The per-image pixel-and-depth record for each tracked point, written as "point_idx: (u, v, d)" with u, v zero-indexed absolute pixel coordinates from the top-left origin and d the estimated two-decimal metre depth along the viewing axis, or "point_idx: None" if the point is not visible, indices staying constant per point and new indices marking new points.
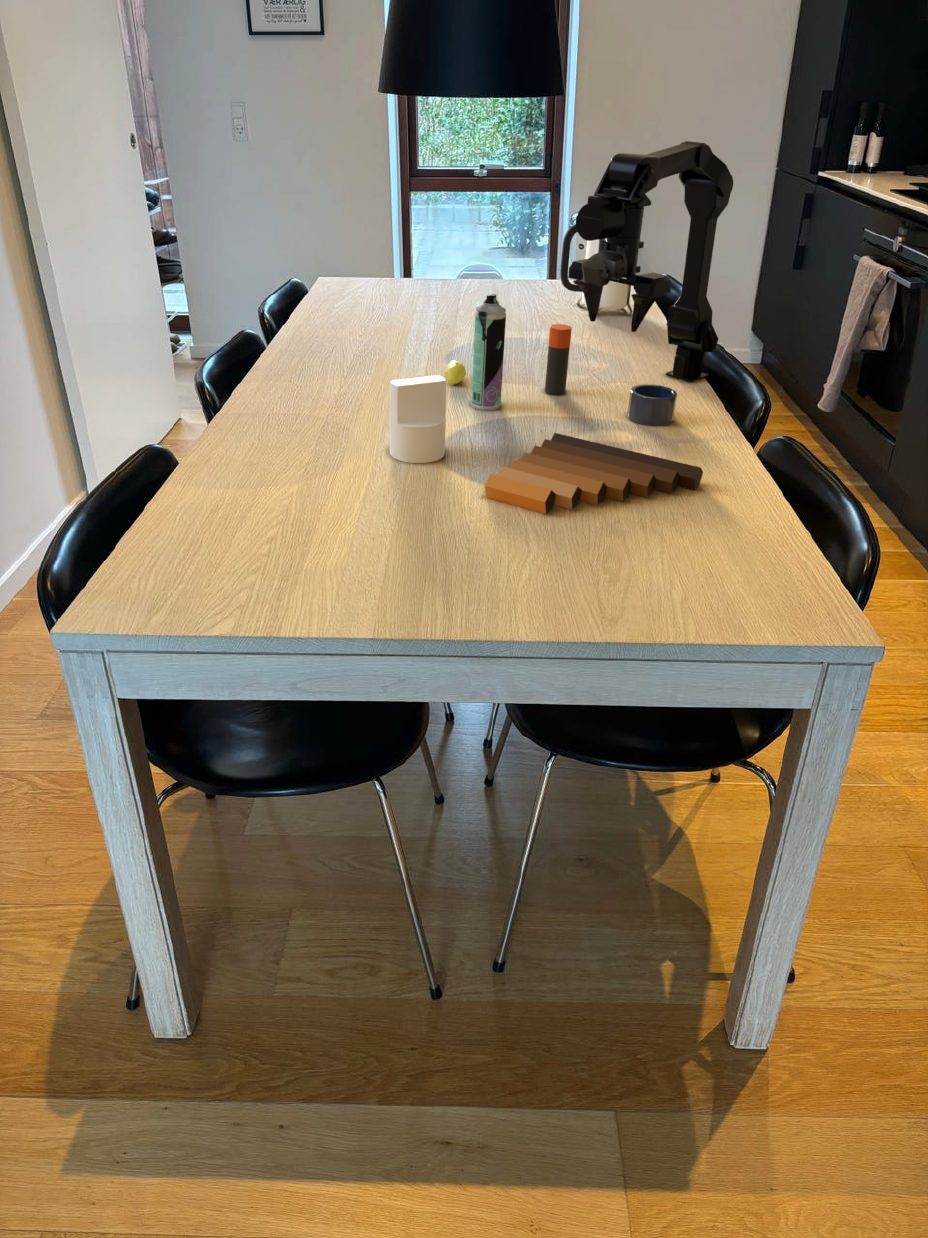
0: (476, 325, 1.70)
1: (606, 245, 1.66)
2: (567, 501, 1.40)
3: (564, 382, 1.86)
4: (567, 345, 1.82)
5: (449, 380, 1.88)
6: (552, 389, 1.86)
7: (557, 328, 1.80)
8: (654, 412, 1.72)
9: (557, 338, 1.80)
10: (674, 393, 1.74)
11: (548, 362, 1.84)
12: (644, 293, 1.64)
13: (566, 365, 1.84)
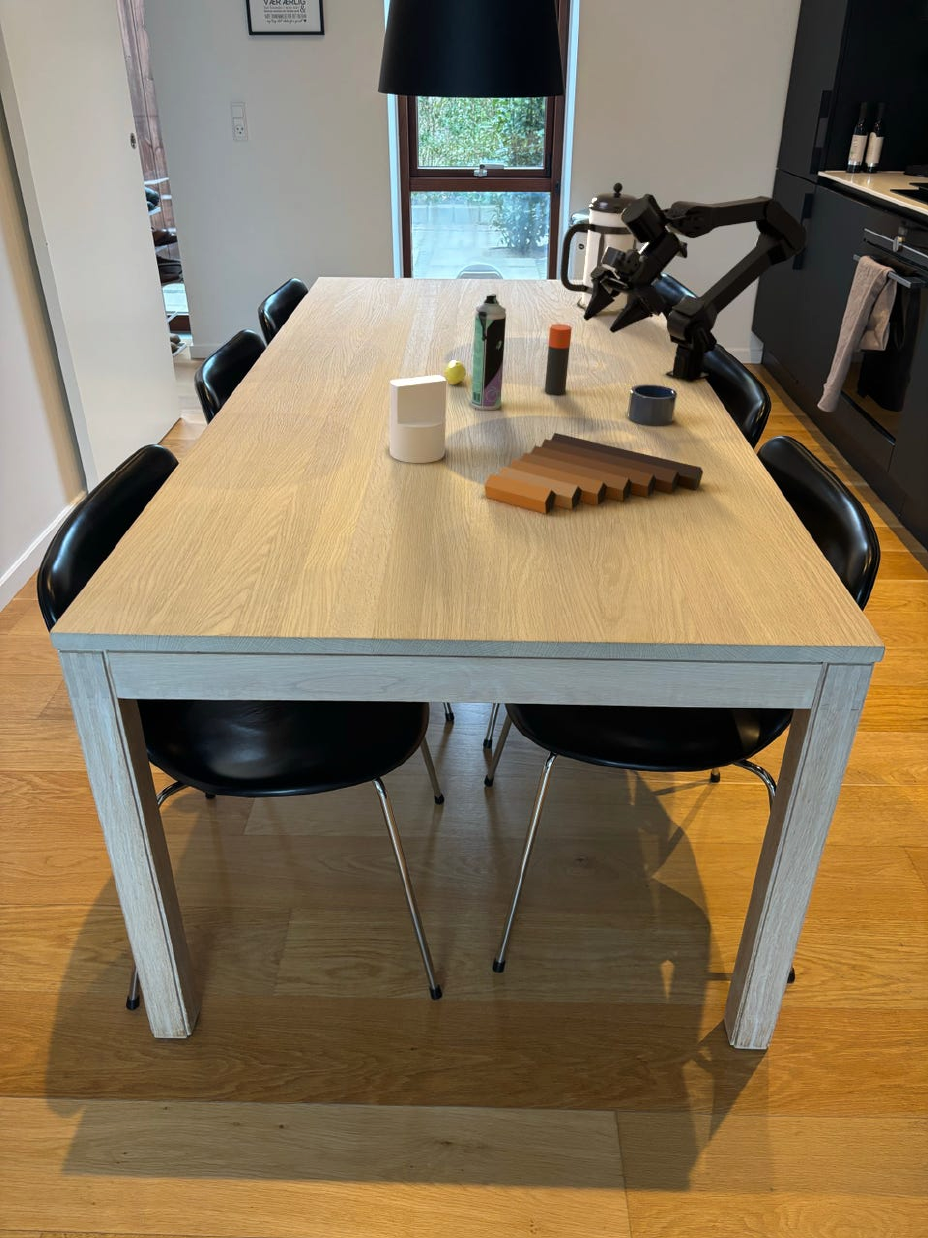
0: (476, 325, 1.70)
1: None
2: (567, 501, 1.40)
3: (564, 382, 1.86)
4: (567, 345, 1.82)
5: (449, 380, 1.88)
6: (552, 389, 1.86)
7: (557, 328, 1.80)
8: (654, 412, 1.72)
9: (557, 338, 1.80)
10: (674, 393, 1.74)
11: (548, 362, 1.84)
12: (639, 291, 1.76)
13: (566, 365, 1.84)
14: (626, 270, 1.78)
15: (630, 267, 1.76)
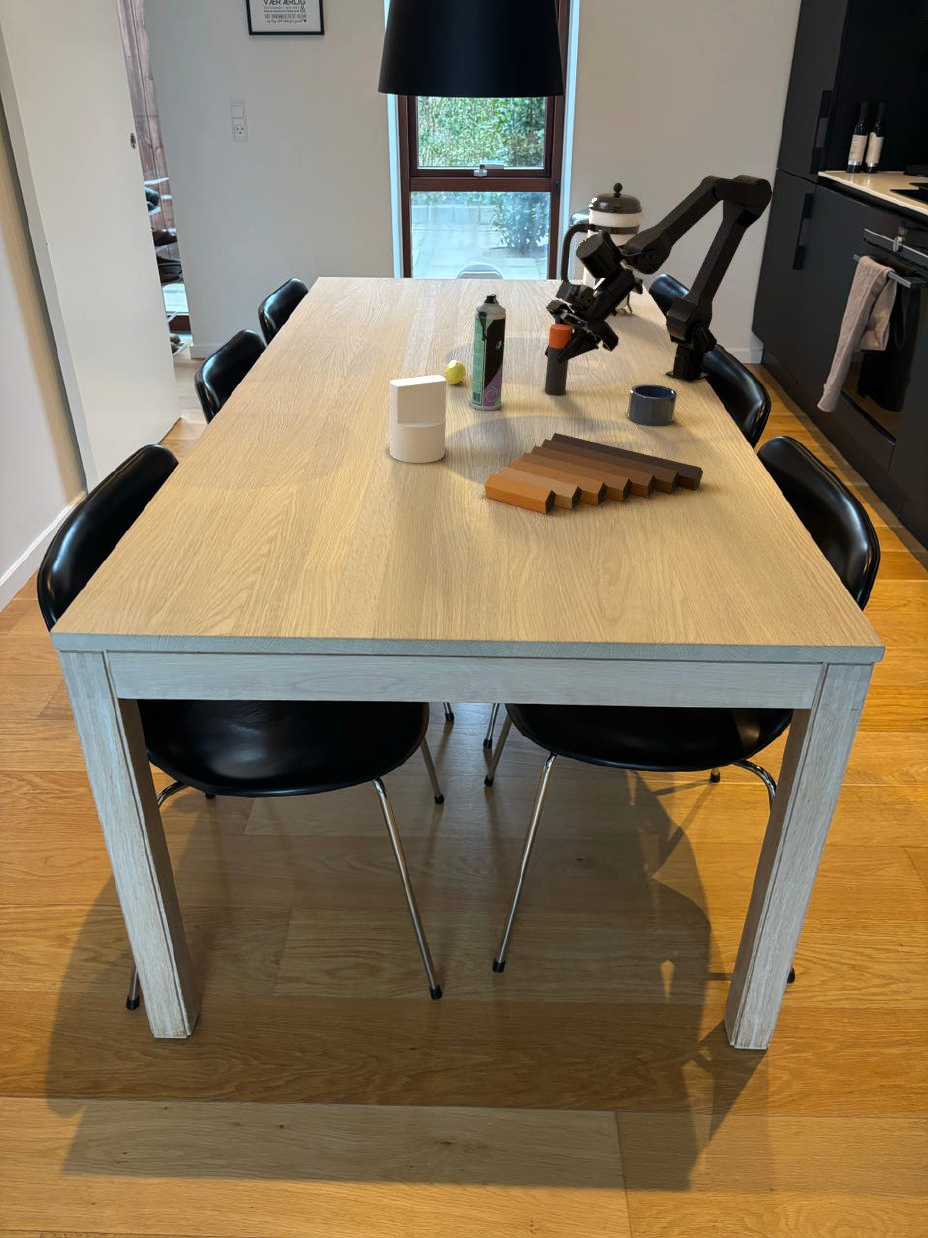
0: (476, 325, 1.70)
1: None
2: (567, 500, 1.40)
3: (564, 382, 1.86)
4: None
5: (449, 380, 1.88)
6: (552, 389, 1.86)
7: (557, 328, 1.80)
8: (654, 412, 1.72)
9: (558, 338, 1.80)
10: (674, 393, 1.74)
11: (548, 362, 1.84)
12: (592, 327, 1.75)
13: (566, 365, 1.84)
14: (580, 305, 1.78)
15: (583, 302, 1.76)
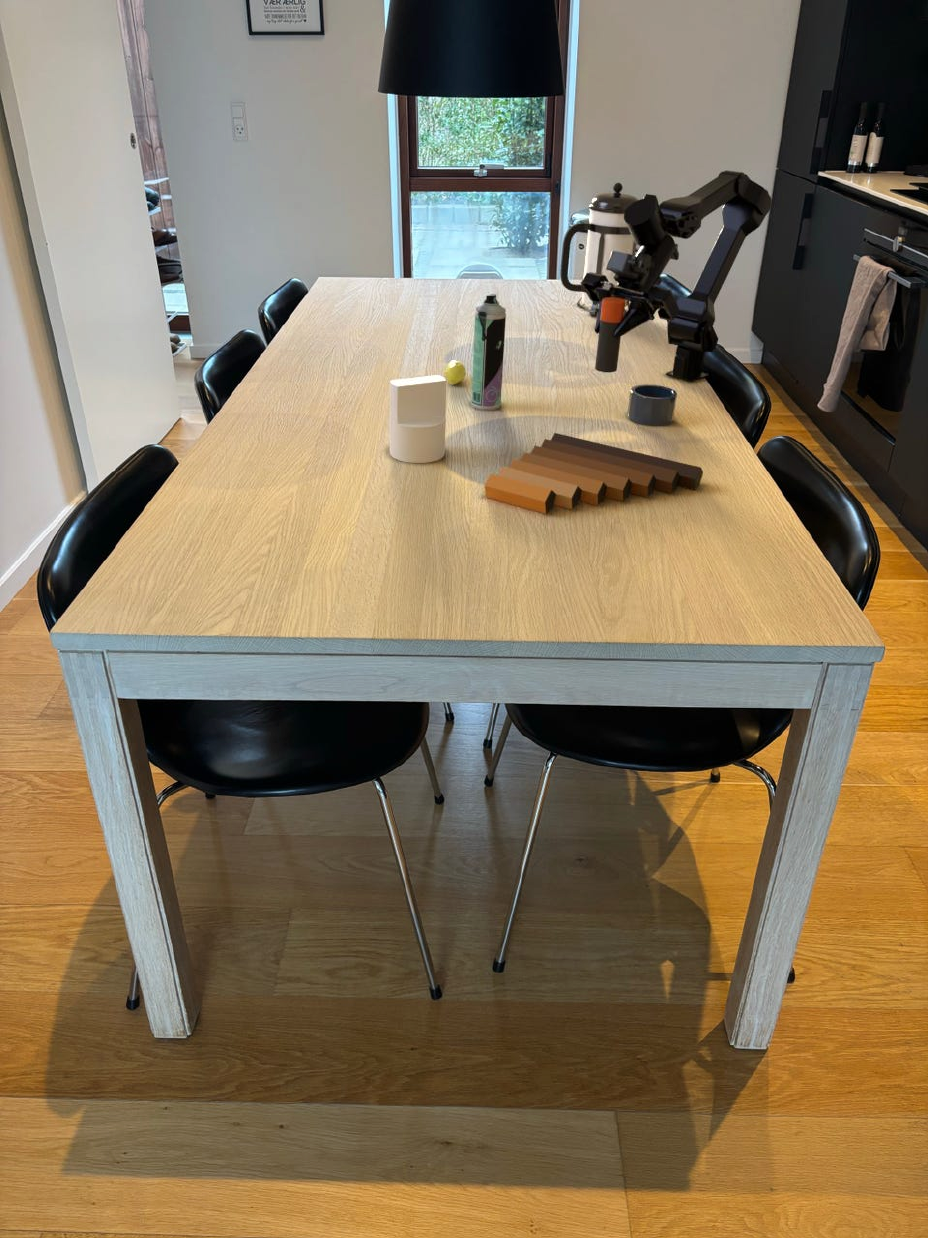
0: (476, 325, 1.70)
1: None
2: (567, 500, 1.40)
3: (617, 358, 1.76)
4: (622, 318, 1.72)
5: (449, 380, 1.88)
6: (608, 366, 1.76)
7: (613, 301, 1.70)
8: (654, 412, 1.72)
9: (615, 311, 1.71)
10: (674, 393, 1.74)
11: (602, 338, 1.74)
12: (657, 297, 1.67)
13: None
14: (635, 275, 1.69)
15: (643, 272, 1.67)
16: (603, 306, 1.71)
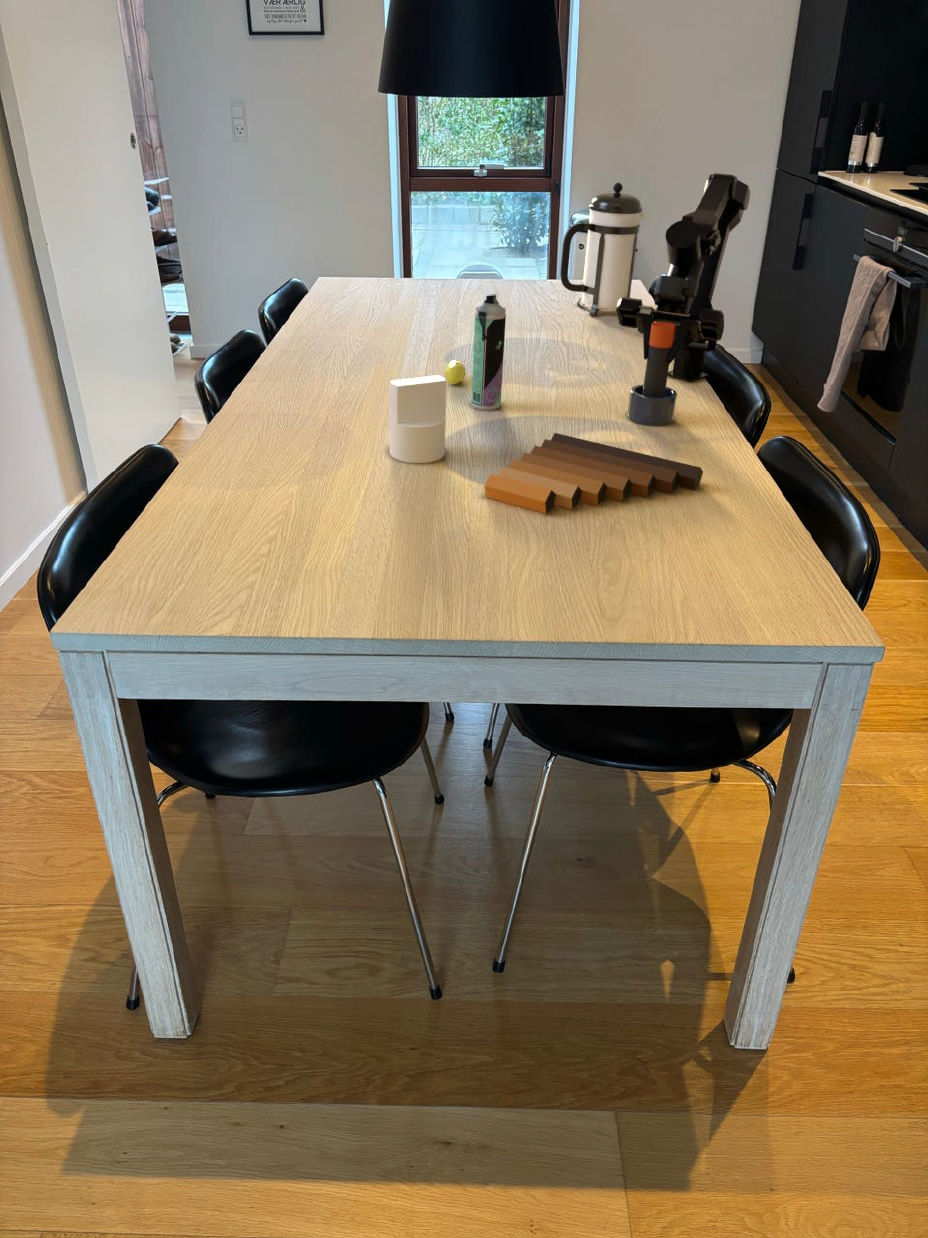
0: (476, 325, 1.70)
1: None
2: (567, 501, 1.40)
3: None
4: (672, 342, 1.69)
5: (449, 380, 1.88)
6: (660, 392, 1.72)
7: (666, 326, 1.67)
8: (654, 412, 1.72)
9: (668, 336, 1.67)
10: (674, 393, 1.74)
11: (654, 364, 1.70)
12: (712, 319, 1.66)
13: None
14: (684, 298, 1.67)
15: (695, 294, 1.65)
16: (655, 332, 1.67)
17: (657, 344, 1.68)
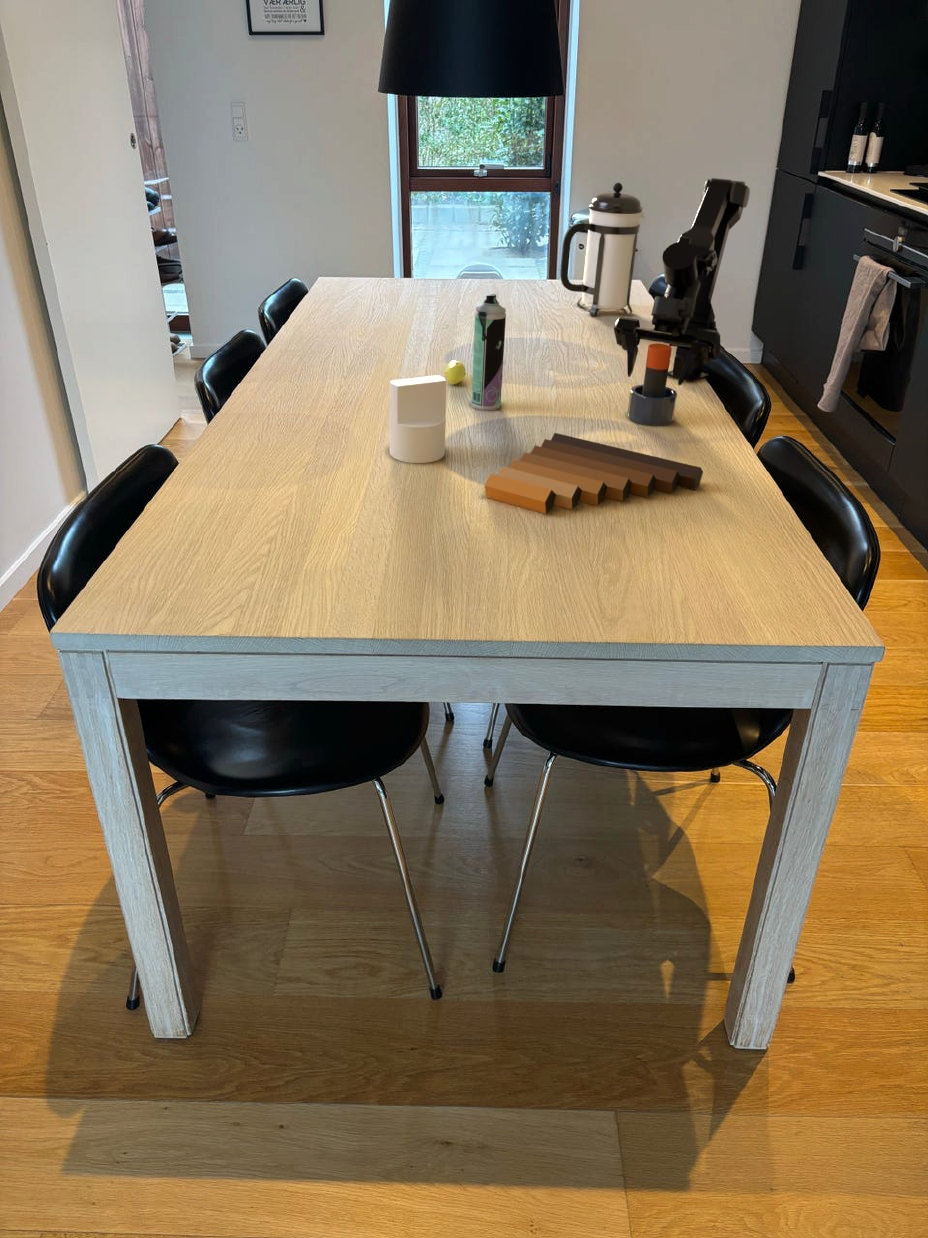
0: (476, 325, 1.70)
1: None
2: (567, 501, 1.40)
3: None
4: None
5: (449, 380, 1.88)
6: None
7: (662, 349, 1.69)
8: (654, 412, 1.72)
9: (665, 358, 1.69)
10: (674, 393, 1.74)
11: (651, 386, 1.72)
12: (708, 339, 1.68)
13: None
14: (681, 319, 1.69)
15: (691, 315, 1.67)
16: (652, 354, 1.69)
17: (654, 366, 1.70)
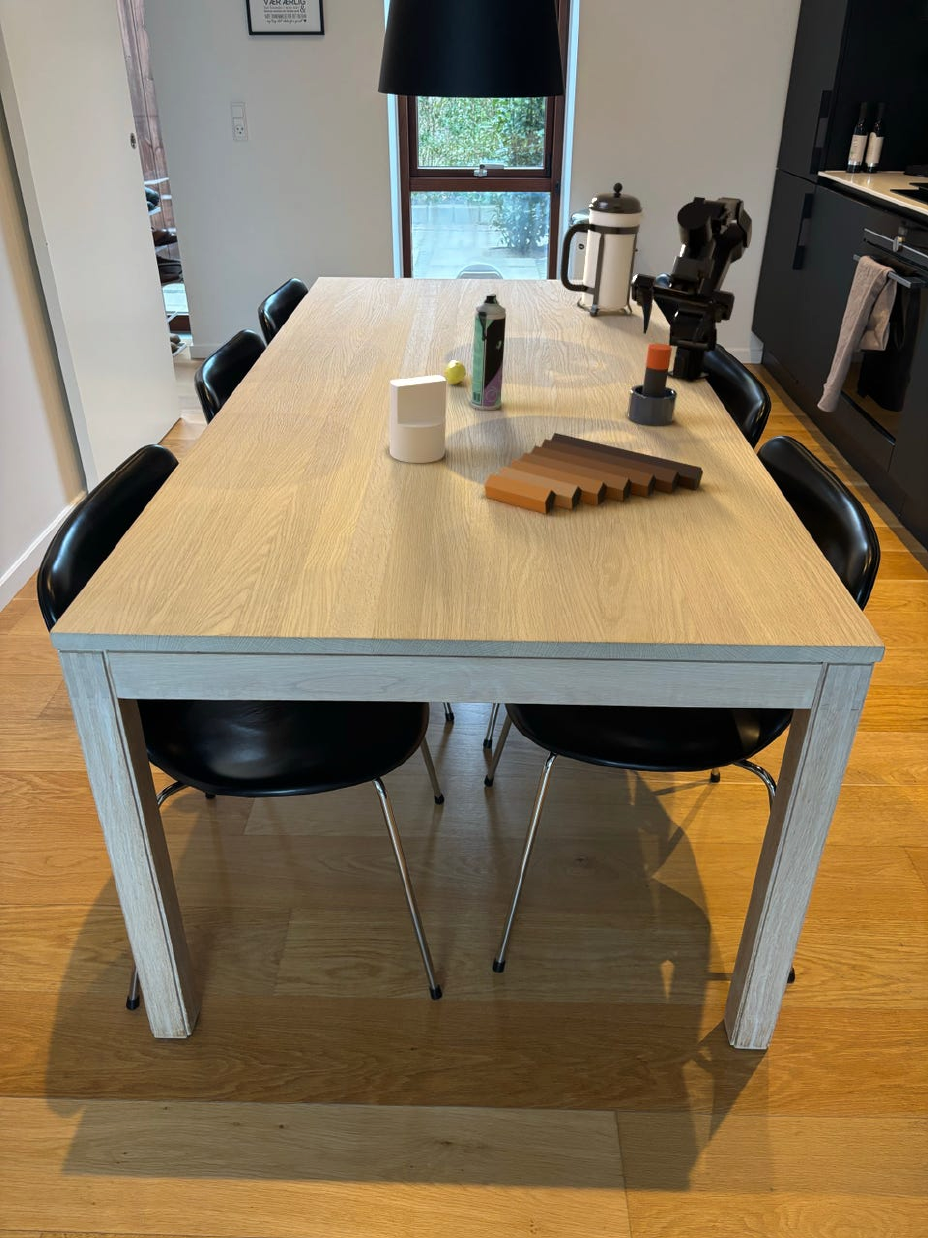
0: (476, 325, 1.70)
1: None
2: (567, 501, 1.40)
3: None
4: None
5: (449, 380, 1.88)
6: None
7: (662, 349, 1.69)
8: (654, 412, 1.72)
9: (665, 358, 1.69)
10: (674, 393, 1.74)
11: (651, 386, 1.72)
12: (724, 301, 1.73)
13: None
14: (698, 279, 1.73)
15: (709, 277, 1.72)
16: (652, 354, 1.69)
17: (654, 366, 1.70)
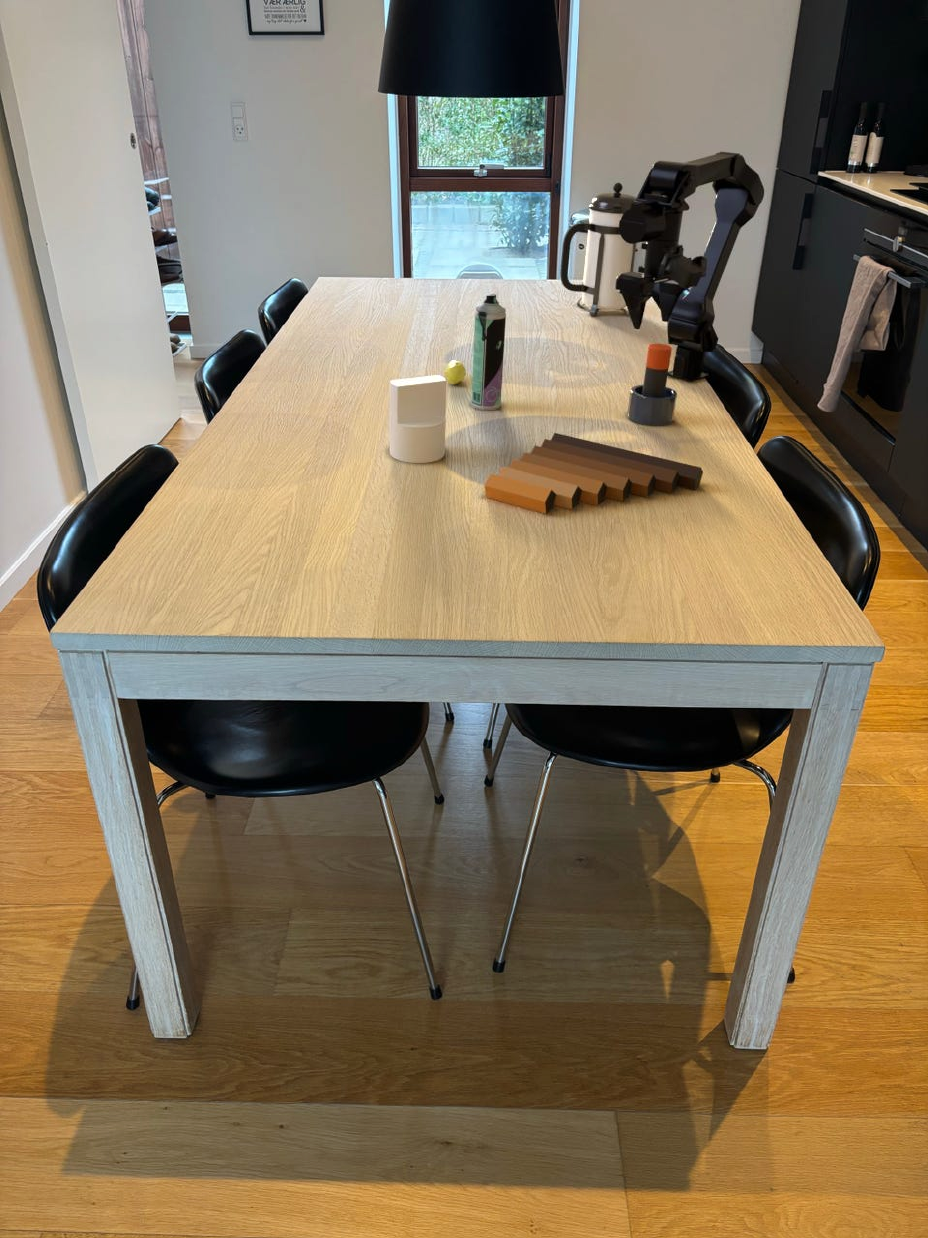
0: (476, 325, 1.70)
1: (672, 250, 1.73)
2: (567, 500, 1.40)
3: None
4: None
5: (449, 380, 1.88)
6: None
7: (662, 349, 1.69)
8: (654, 412, 1.72)
9: (665, 358, 1.69)
10: (674, 393, 1.74)
11: (651, 386, 1.72)
12: None
13: None
14: None
15: None
16: (652, 354, 1.69)
17: (654, 366, 1.70)
